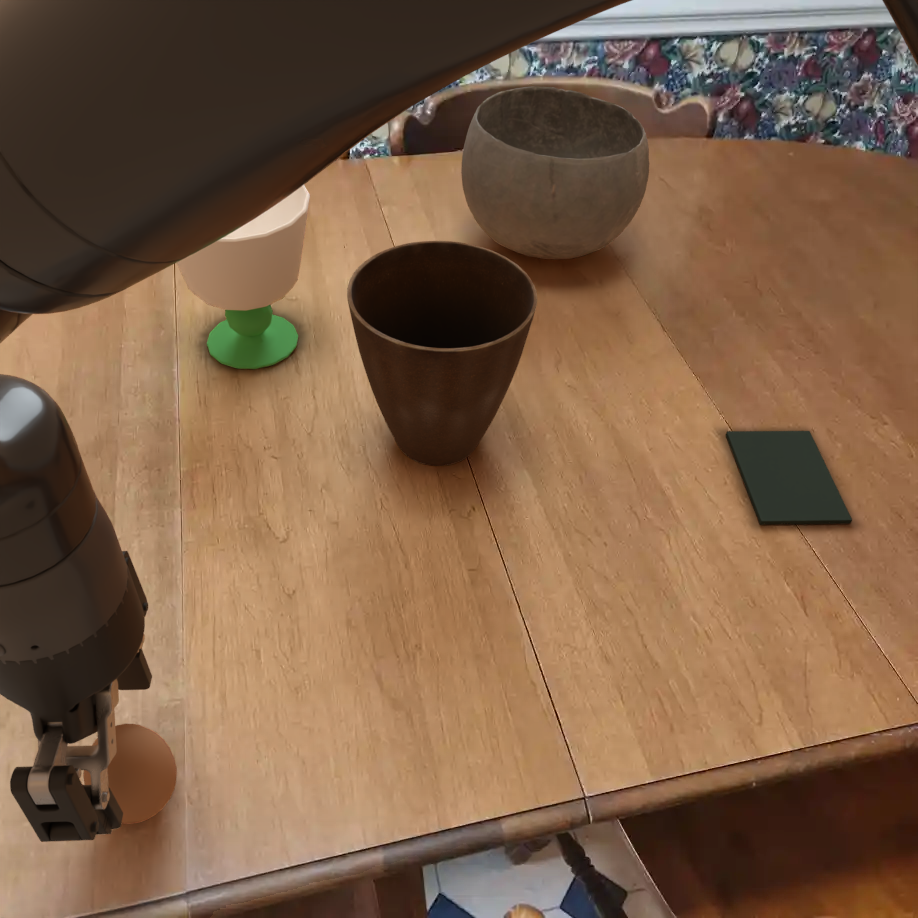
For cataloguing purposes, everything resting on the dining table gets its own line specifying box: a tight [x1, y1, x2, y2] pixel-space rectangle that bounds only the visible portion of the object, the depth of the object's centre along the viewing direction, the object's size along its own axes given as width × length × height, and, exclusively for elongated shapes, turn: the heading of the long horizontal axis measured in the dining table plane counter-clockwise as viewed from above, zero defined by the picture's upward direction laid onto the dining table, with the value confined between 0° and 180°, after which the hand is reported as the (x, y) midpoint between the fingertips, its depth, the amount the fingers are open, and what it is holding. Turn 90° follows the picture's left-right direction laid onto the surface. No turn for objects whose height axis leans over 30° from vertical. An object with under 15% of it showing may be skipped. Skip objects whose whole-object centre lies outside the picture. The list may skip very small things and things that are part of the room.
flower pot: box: [346, 240, 538, 467], centre depth 75 cm, size 15×15×16 cm
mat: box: [725, 430, 853, 526], centre depth 79 cm, size 11×8×1 cm
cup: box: [176, 184, 311, 370], centre depth 84 cm, size 14×14×16 cm
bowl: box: [460, 85, 650, 260], centre depth 99 cm, size 20×20×15 cm
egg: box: [82, 723, 178, 825], centre depth 54 cm, size 5×5×8 cm
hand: (119, 749), depth 52 cm, fingers open, 8 cm apart
